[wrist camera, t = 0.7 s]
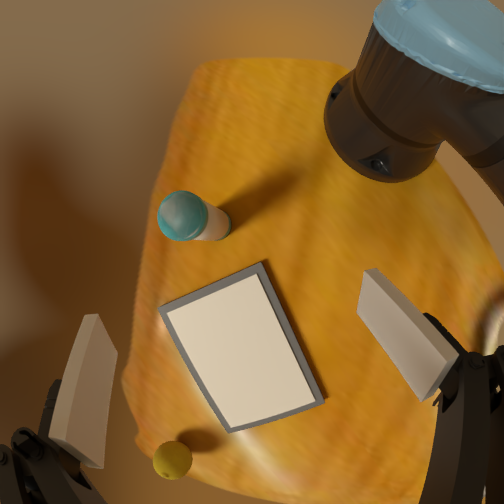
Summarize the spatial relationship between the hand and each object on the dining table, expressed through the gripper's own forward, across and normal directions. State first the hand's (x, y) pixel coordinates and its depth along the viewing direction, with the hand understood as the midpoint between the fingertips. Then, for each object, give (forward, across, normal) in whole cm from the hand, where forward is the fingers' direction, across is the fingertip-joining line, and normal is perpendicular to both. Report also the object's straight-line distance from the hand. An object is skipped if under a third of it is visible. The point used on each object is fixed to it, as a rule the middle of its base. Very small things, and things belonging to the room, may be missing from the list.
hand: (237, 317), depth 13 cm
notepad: (+13, +1, -18) cm, 22 cm away
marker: (+20, 0, -4) cm, 21 cm away
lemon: (+9, -11, -33) cm, 36 cm away
